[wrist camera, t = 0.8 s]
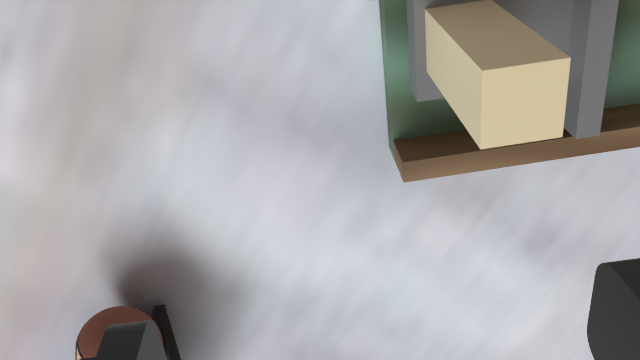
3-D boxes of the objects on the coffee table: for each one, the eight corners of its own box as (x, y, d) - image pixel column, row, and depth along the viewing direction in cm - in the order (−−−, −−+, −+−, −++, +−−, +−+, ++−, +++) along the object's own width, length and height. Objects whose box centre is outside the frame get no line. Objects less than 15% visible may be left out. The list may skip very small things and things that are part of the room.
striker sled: (402, -90, 26) (468, -54, 17) (594, -119, 26) (751, -96, 17) (412, 132, 31) (466, 239, 23) (570, 109, 31) (679, 207, 23)
